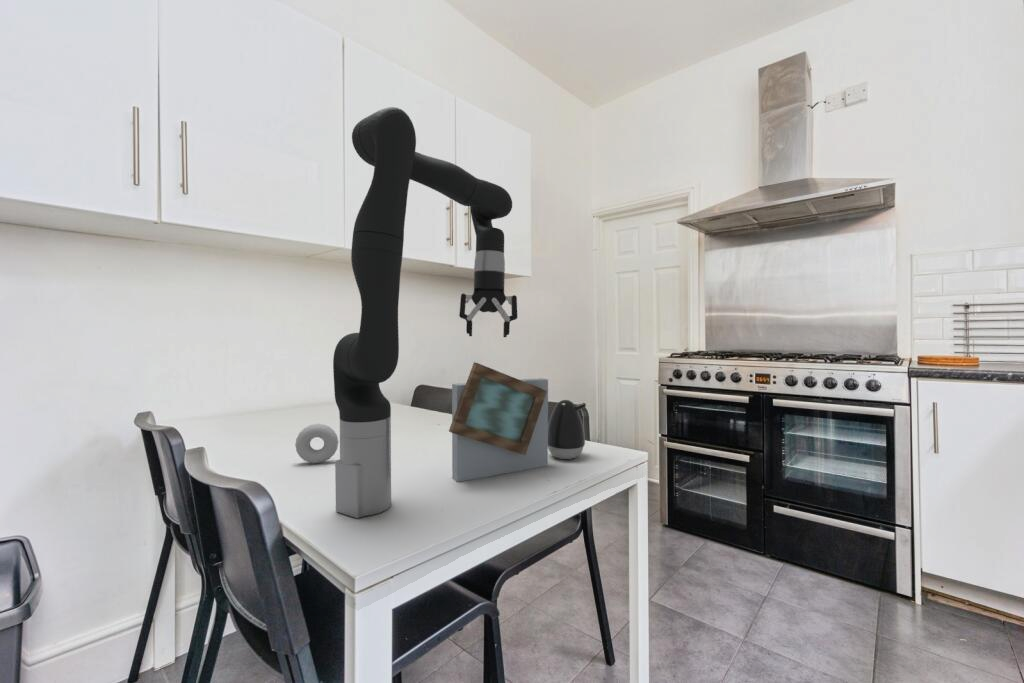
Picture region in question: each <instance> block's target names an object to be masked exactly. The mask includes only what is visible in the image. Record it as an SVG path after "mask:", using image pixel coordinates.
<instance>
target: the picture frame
mask: <svg viewBox="0 0 1024 683" xmlns="http://www.w3.org/2000/svg"><path fill="white" fill-rule="evenodd" d="M521 380H522V379H518V378H516V377H513V376H511V375H509V374H506V373H504V372H500V371H499V370H496V369H493V368H491V367H490V366H489V367H488V366H485V365H483V364H481V363H478V362H473V364H472V367H471V369H470V371H469V375H468V378H467V380H466V382H465V383H466V385H465V388H464V391H463V393H462V396H461V399H460V402H459V404H458V407H457V410H456V413H455V415H454V418H453V421H452V420H451V424H450V427H449V430H448V432H450V433H451V434H452V433H454V434H457V435H461V436H464V437H467V438H470V439H474V440H477V441H480V442H483V443H487V444H490V445H493V446H497V447H500V448H503V449H506V450H510V451H513V452H516V453H520V454H523V455H526V452H527V449H528V446H529V443H530V440H531V437H532V434H533V431H534V428H535V425H536V423H537V420H538V417H539V414H540V411H541V408H542V405H543V402H544V399H545V396H546V393H547V391H546V390H543V389H541V388H539V387H536V386H534V385H531V384H529V383H526V382H524V381H521Z"/></svg>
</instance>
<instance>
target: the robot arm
mask: <svg viewBox="0 0 1024 683" xmlns="http://www.w3.org/2000/svg"><path fill="white" fill-rule="evenodd" d="M351 141H352V142H351V143H352V145H353V149H354V150H355V152H356V154H357V155H358V156H359V158H361V160H362V161H363V162H365V163H367V164H368V165H370V166H372V167H374V169H373V174H372V175H373V176H372V180H371V183H370V186H369V188H368V190H367V192H366V195H365V197H364V200H363V202H362V204H361V205H360V208H359V210H358V212H357V215H356V218H355V220H354V225H353V230H352V240H351V241H352V242H351V253H350V254H351V255H350V259H351V260H350V261H351V268H352V272H353V275H354V279H355V282H356V286H357V289H358V292H359V295H360V302H361V316H360V324H359V325H360V326H359V331H358V332H352V333H348V334H346V335H345V336H343V337H341V339H339V341H338V342H337V344H336V346H335V349H334V352H333V359H332V360H333V362H332V363H333V364H332V367H333V368H332V369H333V370H332V373H333V386H334V387H333V389H334V390H333V391H334V399H335V403H336V405H337V408H338V410H339V411H338V412H339V459H337V460H336V461H335V463H334V464H335V465H334V466H335V468H334V469H335V470H334V471H335V473H334V474H335V476H334V477H335V512H336V513H340V514H343V515H346V516H349V517H352V518H355V519H360V518H362V517H367V516H374V515H376V514H380V513H383V512H384V511H386V510H388V509H389V508H390V507H391V506H392V439H391V438H392V429H391V428H392V417H391V415H392V414H391V413H392V407H391V403H390V401H389V399H388V398H387V397H386V396H385V395H384V394H383V392H382V390H381V387H380V383H384V382H386V381H387V380H389V379H390V378H391V376H392V375H394V372H395V371H396V368H397V366H398V362H399V354H400V349H399V348H400V346H399V345H400V342H399V341H400V340H399V300H400V288H401V287H400V286H401V271H402V265H403V264H402V262H403V254H404V241H405V240H404V239H405V235H404V234H405V223H406V222H405V221H406V215H407V214H406V213H407V212H406V211H407V202H408V192H409V187H410V180H411V181H413V182H416V183H418V184H420V185H423V186H425V187H428V188H430V189H431V190H434V191H436V192H438V193H440V194H442V195H443V196H445V197H447V198H449V199H450V200H453V201H454V202H456V203H457V204H459V205H460V206H461V205H462V206H464V207H469V209H470V210H469V211H470V217H471V219H472V224H473V225H472V226H473V228H474V232H475V237H476V238H475V255H474V267H473V273H474V274H473V293H472V294H466V293H461V295H460V303H459V304H460V305H459V315H458V316H459V318H461V319H463V320H465V321H466V326H465V327H466V329H465V330H466V334H467V335H468V337H472V336H473V319H474V318H475V316H476V315H477V313H478V312H479V311H480V312H481V313H487V312H488V313H497V312H498V313H499V315H500V316H501V318H502V319H503V320H504V322H503V332H502V333H503V335H502V336H503V338H507V336H509V335H510V329H511V328H510V327H511V326H510V324H511V321H514V320H517V319H518V299H517V298H518V296H517V295H514V294H513V295H509V296H508V295H505V272H506V267H505V265H506V263H505V233H504V231H503V230H502V229H501V228H499V227H494V226H493V223H492V220H498V219H501V218H505V217H507V216H509V214H510V213H511V211H512V210H513V209H512V208H513V199H512V197H511V195H510V193H509V192H508V191H507V190H506V188H504V187H503V186H500V185H498V184H496V183H493V182H489V181H487V180H484V179H480V178H477V177H475V176H474V175H473V174H471V173H470V172H468V171H467V170H465V169H463V168H462V167H460V166H458V165H456V164H455V163H452V162H449V161H446V160H444V159H440V158H436V157H432V156H428V155H425V154H423V153H420V152H417V151H416V149H417V148H416V147H417V137H416V130H415V127H414V124H413V121H412V119H411V118H410V116H409V115H408V113H406V112H405V111H404V110H403V109H401V108H399V107H395V106H391V107H384V108H381V109H380V110H379V109H378V110H377V111H375V112H373V113H372V114H370V115H368V116H366V117H364V118H363V119H361V120H359V121H358V123H356V124H355V126H354V127H353V129H352V132H351ZM470 300H471V301H472V302H473V304H475V306H474V308H472V310H471V311H470V312H469V314H466V304H469V302H470ZM505 302H507V304H509V305H510V306H511V315H510V316H509V315H508V313H507V312H506V310H505V309H504V308H503V305H504V303H505Z"/></svg>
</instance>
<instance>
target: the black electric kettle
mask: <svg viewBox="0 0 1024 683" xmlns="http://www.w3.org/2000/svg"><path fill="white" fill-rule="evenodd" d="M586 406H587V404H586V403H585V402H583V403H579V404H576V405H575V403H574V402H573V401H571V400H569V399H562V400H560V401H558V402H557V403H556V404H555V406H554V408H553V411H552V412H551V415H550V418H549V420H548V451H549V453H550V454H551V456H554V458H557V459H559V460H564V459H569V460H574V459H576V458H578V457H579V456H580V455H581V454H582V452H583V449H584V446H585V445H586V438H585V437H586V436H585V431H584V429H585V428H584V424H583V421H582V418H581V415H580V412H579V410H582V409H583V408H585V407H586ZM573 458H574V459H573Z"/></svg>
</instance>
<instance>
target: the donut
mask: <svg viewBox="0 0 1024 683" xmlns="http://www.w3.org/2000/svg"><path fill="white" fill-rule="evenodd" d="M314 438H315V439H316V438H320V439H321V440H322V441H323V446H322V447H321V448H320V449H314V448H313V447H312V446H311V442H312V440H313V439H314ZM338 447H339V437H338V435H337V433H336V432H335V430H334V429H333V428H331V427H330V426H329V425H326V424H325V423H314V424H310V425H307V426H306V427H304V428H302V430H300V431H299V433H298V435H297V437H296V439H295V451H296V454H298V456H299V457H300V458H301V459H302V460H303V461H305V462H308V463H310V464H321V463H324V462H326V461H329V460H330V459H331V458H332V457H333V456H334V455H335V454H336V452H337V450H338Z"/></svg>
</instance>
